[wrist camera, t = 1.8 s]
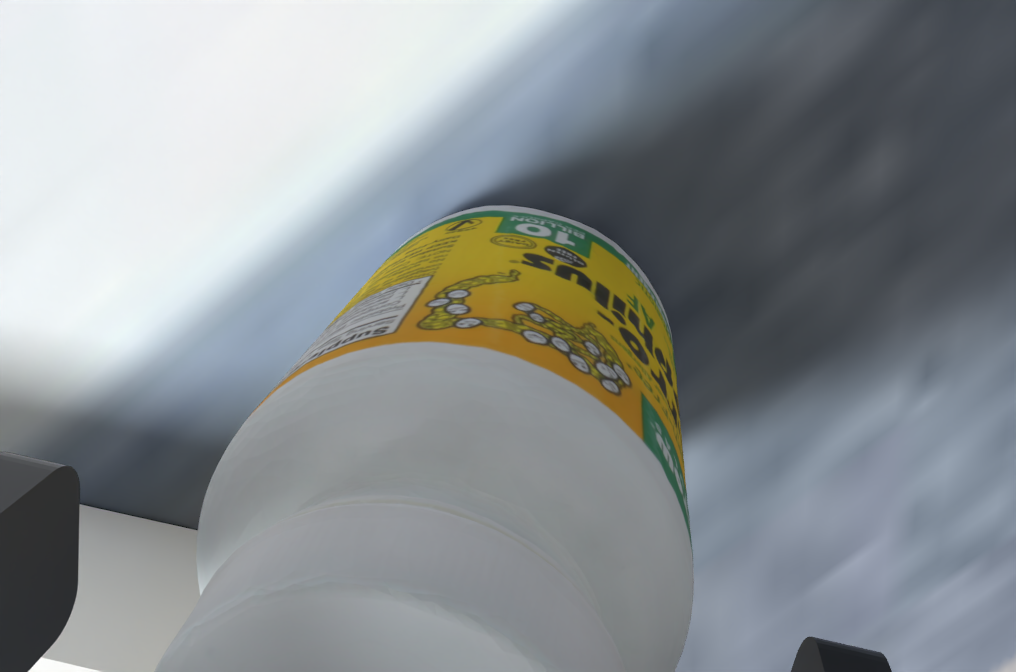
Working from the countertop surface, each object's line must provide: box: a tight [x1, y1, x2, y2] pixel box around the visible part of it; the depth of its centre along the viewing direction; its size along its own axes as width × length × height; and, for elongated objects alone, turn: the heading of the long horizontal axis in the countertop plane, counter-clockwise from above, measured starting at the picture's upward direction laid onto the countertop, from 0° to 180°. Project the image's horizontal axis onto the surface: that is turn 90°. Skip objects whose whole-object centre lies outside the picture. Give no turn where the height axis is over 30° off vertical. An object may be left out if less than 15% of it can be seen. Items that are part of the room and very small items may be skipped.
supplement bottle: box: [154, 205, 694, 672], centre depth 12 cm, size 5×5×10 cm
